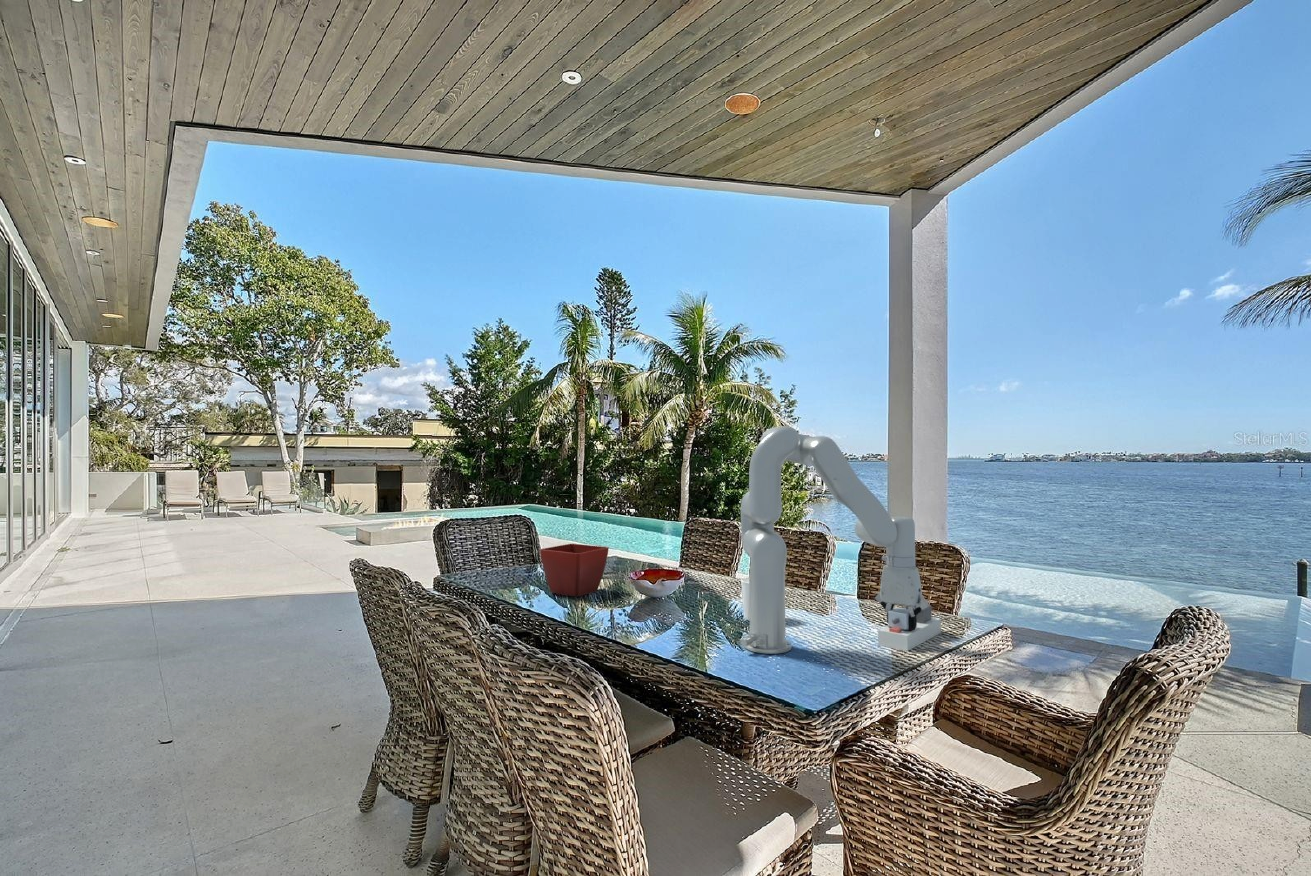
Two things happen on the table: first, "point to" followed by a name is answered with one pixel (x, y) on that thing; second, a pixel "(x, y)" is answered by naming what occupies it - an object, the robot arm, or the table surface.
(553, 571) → the plant pot
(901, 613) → the grey plug
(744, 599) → the candle holder
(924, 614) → the dark grey block
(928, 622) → the power strip
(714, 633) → the table surface
